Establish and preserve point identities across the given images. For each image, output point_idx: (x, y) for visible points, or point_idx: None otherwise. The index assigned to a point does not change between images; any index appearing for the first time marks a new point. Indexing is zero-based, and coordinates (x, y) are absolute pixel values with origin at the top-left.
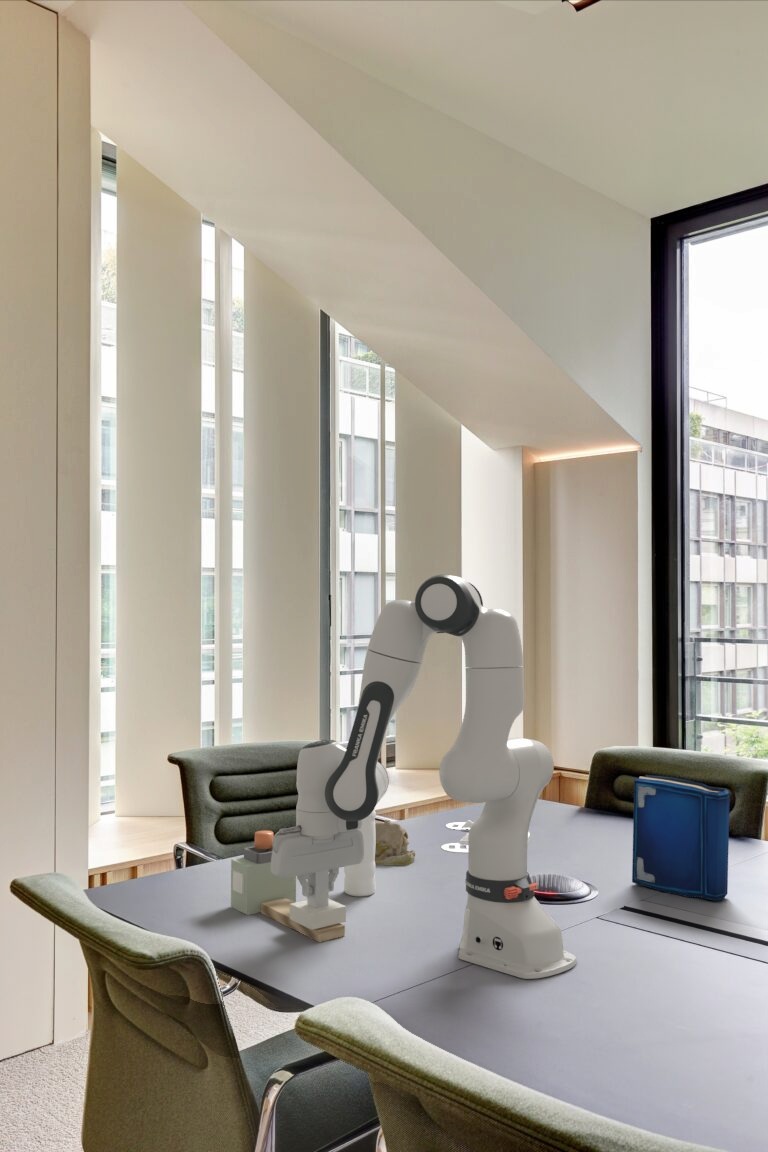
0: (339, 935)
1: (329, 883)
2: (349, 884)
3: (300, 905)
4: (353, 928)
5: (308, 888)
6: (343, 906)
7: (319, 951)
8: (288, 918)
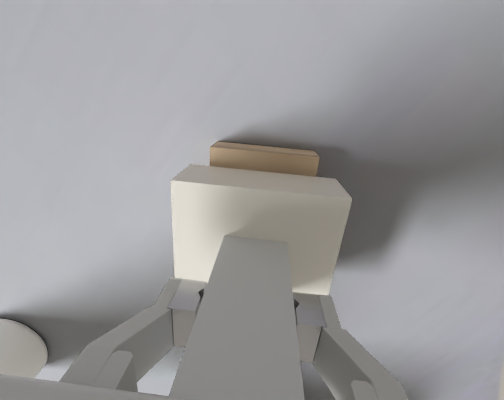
0: (235, 144)
1: (184, 308)
2: (23, 367)
3: None
4: (157, 174)
5: (331, 323)
6: (180, 186)
7: (371, 84)
8: None
